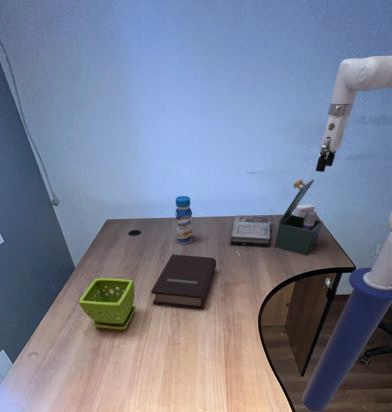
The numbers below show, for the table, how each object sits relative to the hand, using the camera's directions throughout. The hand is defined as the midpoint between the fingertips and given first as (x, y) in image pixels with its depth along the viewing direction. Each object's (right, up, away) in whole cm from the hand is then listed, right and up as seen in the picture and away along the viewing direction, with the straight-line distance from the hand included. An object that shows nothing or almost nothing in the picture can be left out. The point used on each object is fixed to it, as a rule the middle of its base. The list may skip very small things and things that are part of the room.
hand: (323, 168), depth 105 cm
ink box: (+5, -8, +38) cm, 39 cm away
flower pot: (-79, -62, -11) cm, 101 cm away
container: (+1, -22, +23) cm, 32 cm away
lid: (-6, -6, +13) cm, 16 cm away
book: (-54, -46, +3) cm, 72 cm away
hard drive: (-22, -11, +35) cm, 43 cm away
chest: (-2, -21, +25) cm, 32 cm away
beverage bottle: (-56, -16, +32) cm, 67 cm away
